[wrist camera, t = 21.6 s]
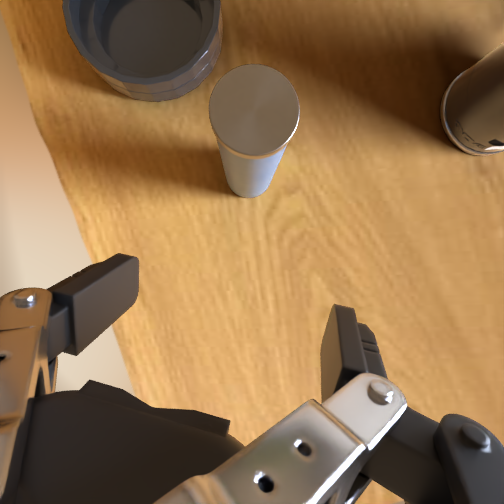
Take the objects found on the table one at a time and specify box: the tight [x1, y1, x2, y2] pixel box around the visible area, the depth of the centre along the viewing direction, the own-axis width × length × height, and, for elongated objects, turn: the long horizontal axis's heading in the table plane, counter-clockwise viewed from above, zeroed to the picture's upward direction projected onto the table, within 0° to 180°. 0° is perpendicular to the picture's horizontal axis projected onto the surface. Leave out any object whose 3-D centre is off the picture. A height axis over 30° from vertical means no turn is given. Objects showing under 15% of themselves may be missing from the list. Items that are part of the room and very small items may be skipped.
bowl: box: [62, 0, 223, 102], centre depth 30 cm, size 14×14×4 cm
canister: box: [209, 64, 300, 198], centre depth 25 cm, size 5×5×16 cm
